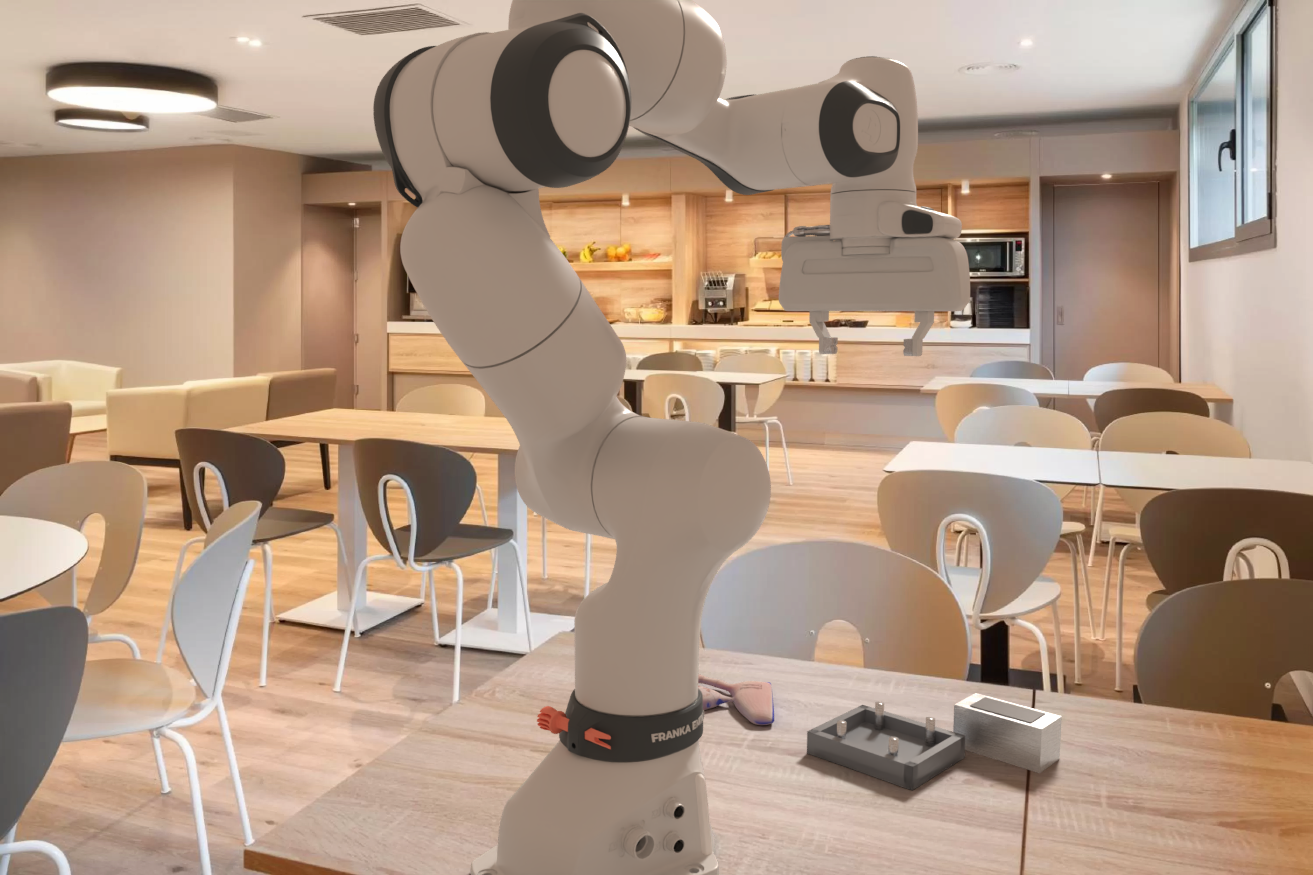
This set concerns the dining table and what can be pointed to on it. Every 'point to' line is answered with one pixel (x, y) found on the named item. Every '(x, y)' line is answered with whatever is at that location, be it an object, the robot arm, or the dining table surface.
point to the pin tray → (887, 745)
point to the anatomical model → (741, 698)
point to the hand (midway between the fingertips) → (869, 355)
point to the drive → (1008, 731)
